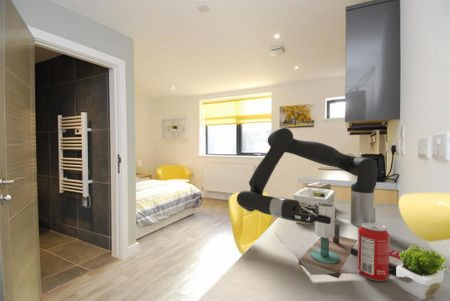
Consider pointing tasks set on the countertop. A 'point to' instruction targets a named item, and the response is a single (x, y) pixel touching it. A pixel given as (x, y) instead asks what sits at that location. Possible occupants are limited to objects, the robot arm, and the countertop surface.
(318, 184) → the tea box
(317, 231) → the sleeve
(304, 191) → the storage basket
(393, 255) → the calculator
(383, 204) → the countertop surface
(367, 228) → the soda can
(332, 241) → the jig board
